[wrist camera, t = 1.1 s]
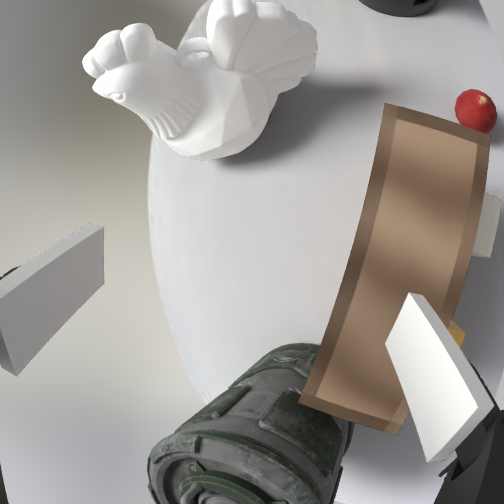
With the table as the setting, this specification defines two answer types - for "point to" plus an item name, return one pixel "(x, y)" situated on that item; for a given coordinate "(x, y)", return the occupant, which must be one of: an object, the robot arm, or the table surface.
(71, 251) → the robot arm
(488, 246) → the button one
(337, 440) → the canister
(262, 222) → the table surface
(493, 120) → the onion
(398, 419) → the console
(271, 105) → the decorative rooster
